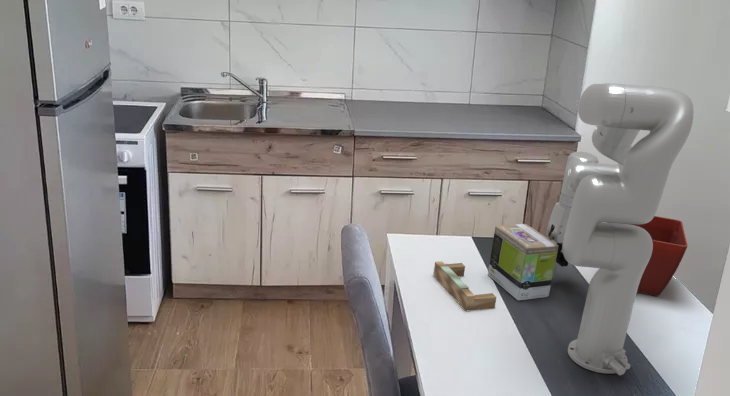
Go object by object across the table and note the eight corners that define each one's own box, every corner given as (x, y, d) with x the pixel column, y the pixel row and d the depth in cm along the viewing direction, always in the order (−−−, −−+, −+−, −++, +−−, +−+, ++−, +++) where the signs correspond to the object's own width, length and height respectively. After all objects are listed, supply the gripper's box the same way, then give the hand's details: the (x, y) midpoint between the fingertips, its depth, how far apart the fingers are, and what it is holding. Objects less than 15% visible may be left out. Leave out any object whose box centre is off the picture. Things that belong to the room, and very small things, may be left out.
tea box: (550, 297, 180) (560, 245, 174) (516, 302, 176) (526, 248, 171) (517, 271, 192) (526, 221, 187) (486, 275, 189) (494, 224, 184)
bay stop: (494, 307, 172) (497, 292, 170) (465, 311, 169) (467, 295, 168) (460, 272, 188) (462, 258, 187) (433, 275, 186) (435, 260, 184)
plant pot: (595, 289, 186) (608, 231, 180) (597, 261, 203) (609, 207, 197) (672, 305, 181) (688, 246, 175) (667, 275, 198) (682, 220, 192)
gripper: (590, 193, 185) (577, 255, 192) (541, 196, 180) (529, 259, 187) (608, 204, 178) (593, 268, 185) (558, 207, 173) (545, 273, 180)
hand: (561, 263), depth 186 cm, fingers closed
